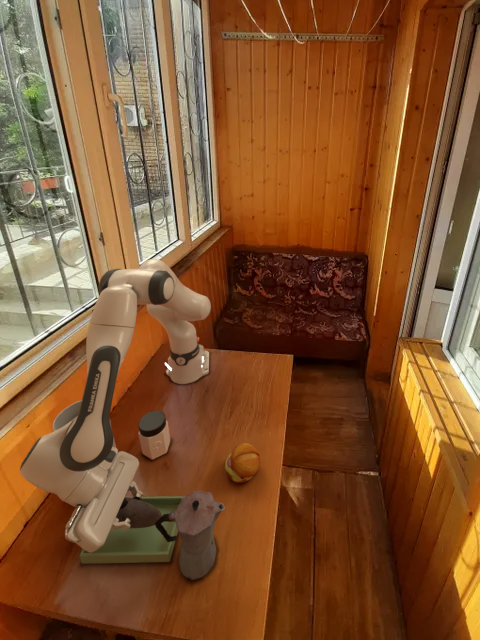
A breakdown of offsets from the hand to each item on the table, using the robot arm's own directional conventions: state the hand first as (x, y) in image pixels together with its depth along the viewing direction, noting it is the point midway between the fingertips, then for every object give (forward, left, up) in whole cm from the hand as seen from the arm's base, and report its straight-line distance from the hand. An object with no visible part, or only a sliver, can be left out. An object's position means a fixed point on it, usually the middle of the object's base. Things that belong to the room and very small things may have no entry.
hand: (135, 510), depth 79 cm
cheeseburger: (-16, +25, -8) cm, 31 cm away
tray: (0, -1, -8) cm, 8 cm away
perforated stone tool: (0, -1, -5) cm, 5 cm away
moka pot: (+6, +16, -8) cm, 19 cm away
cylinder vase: (-14, -19, -8) cm, 25 cm away
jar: (-24, -5, -8) cm, 26 cm away
